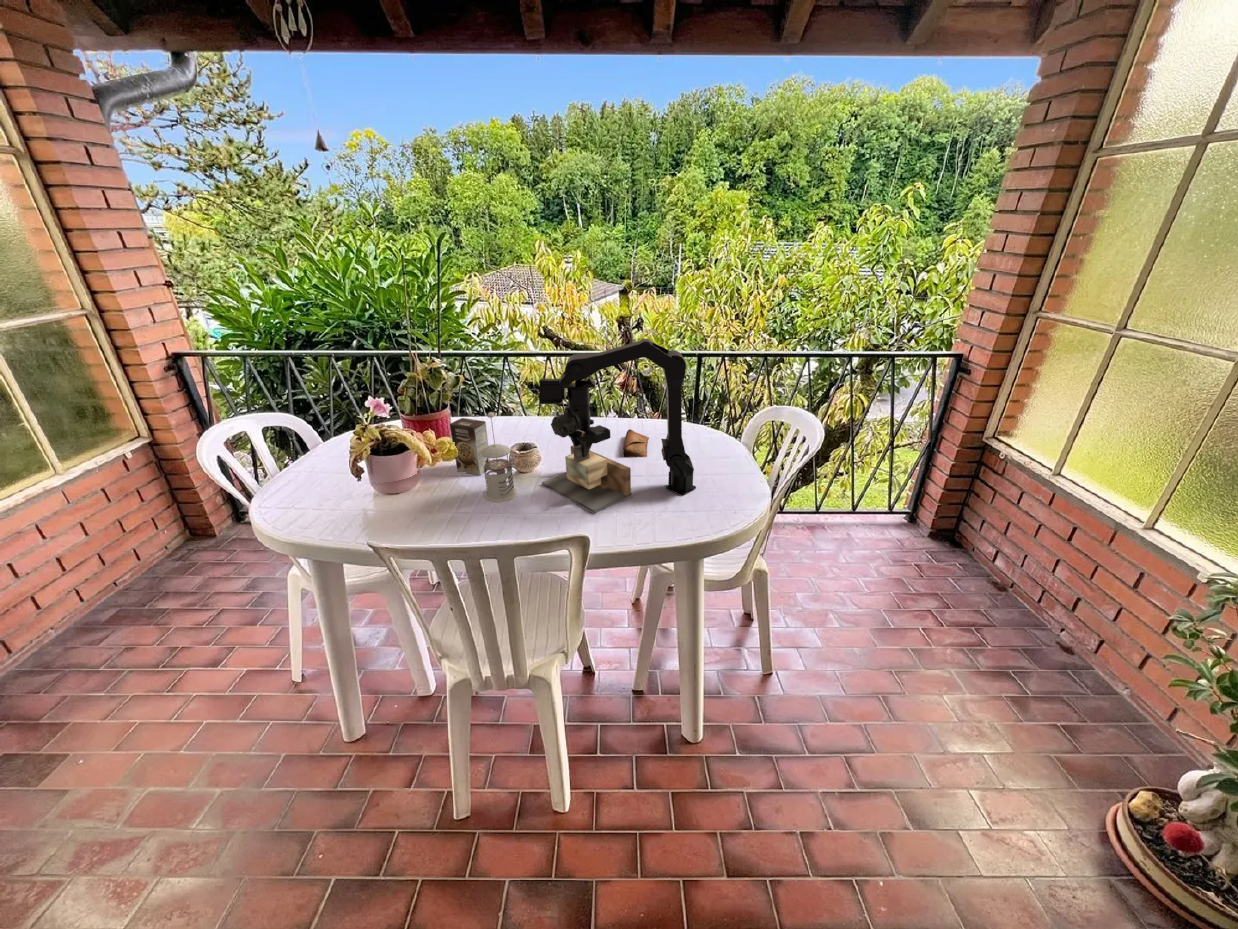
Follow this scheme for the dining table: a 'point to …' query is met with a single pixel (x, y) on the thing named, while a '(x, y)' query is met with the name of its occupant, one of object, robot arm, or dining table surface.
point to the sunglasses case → (635, 444)
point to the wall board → (599, 497)
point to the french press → (498, 473)
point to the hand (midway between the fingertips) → (582, 455)
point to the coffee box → (470, 445)
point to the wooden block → (585, 468)
